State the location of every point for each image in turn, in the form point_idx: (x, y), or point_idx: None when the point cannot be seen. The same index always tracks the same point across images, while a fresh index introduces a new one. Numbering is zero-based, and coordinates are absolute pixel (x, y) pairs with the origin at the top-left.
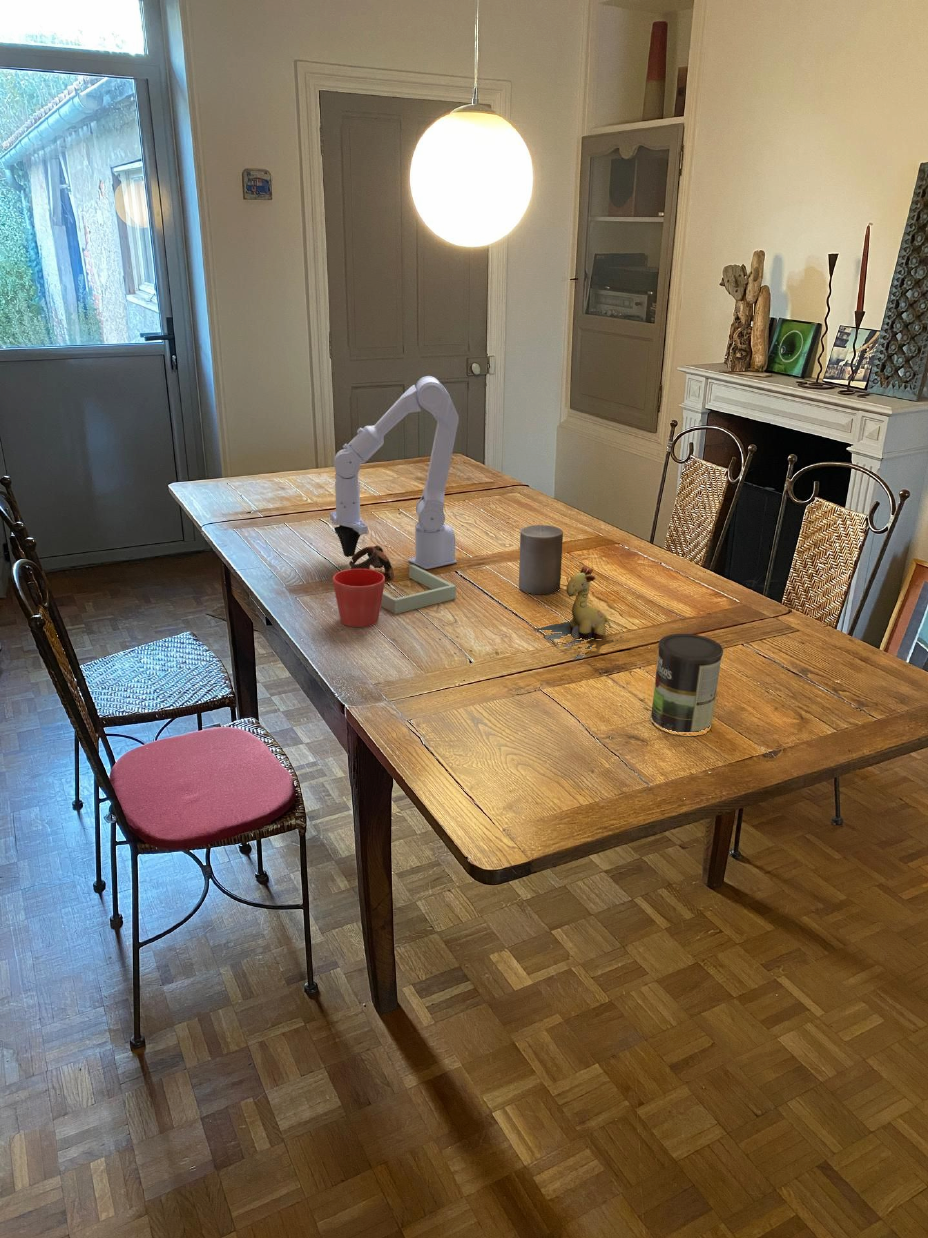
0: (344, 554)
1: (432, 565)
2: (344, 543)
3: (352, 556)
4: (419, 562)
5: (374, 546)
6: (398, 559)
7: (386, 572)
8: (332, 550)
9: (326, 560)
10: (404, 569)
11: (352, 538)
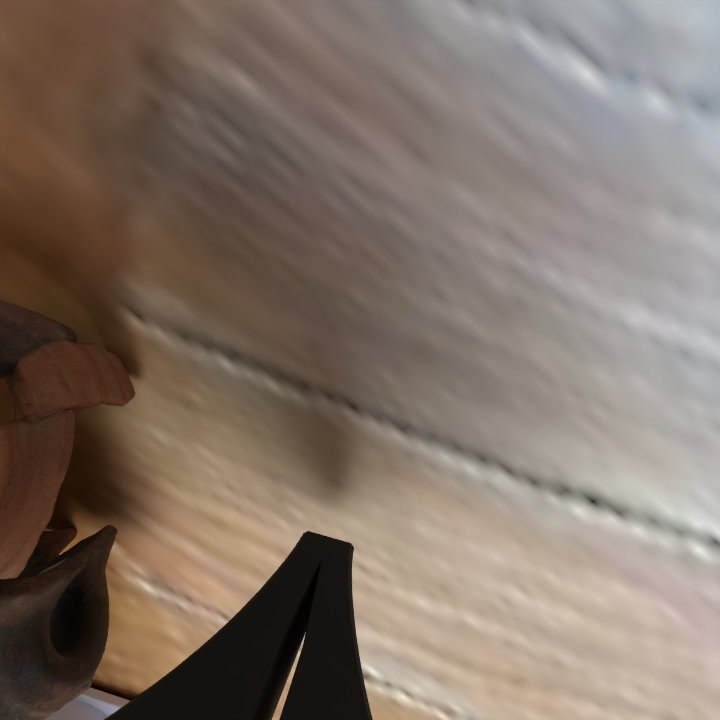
0: (338, 547)
1: None
2: (250, 637)
3: (2, 450)
4: None
5: (8, 704)
6: None
7: (64, 529)
8: (684, 652)
9: (550, 473)
10: None
11: None
